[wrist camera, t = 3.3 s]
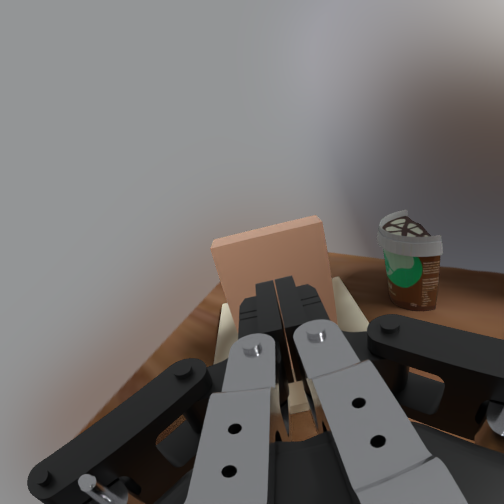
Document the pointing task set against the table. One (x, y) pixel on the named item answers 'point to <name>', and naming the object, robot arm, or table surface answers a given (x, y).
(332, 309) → the tile
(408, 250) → the food container
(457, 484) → the robot arm
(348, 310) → the board
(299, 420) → the table surface
